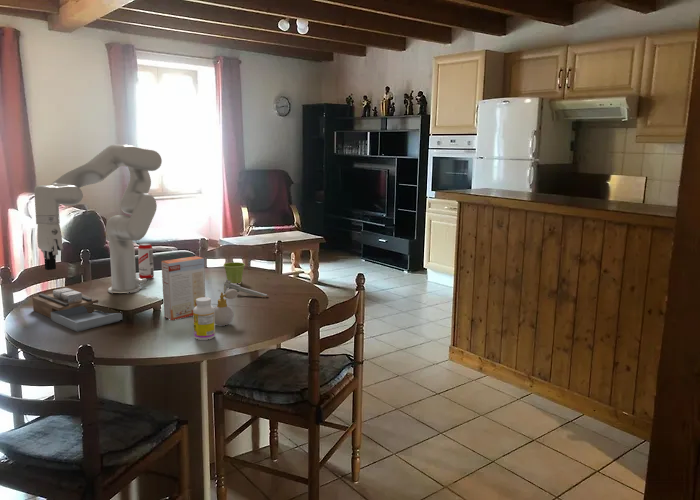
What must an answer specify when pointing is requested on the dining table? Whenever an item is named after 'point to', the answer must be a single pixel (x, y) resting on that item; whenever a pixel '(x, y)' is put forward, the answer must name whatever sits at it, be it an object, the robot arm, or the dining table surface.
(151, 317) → the dining table surface
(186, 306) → the cracker box
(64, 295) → the chip
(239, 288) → the caliper
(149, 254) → the beer can
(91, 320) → the tray
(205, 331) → the supplement bottle
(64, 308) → the slot board
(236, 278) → the plant pot
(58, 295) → the chip
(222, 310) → the perfume bottle
